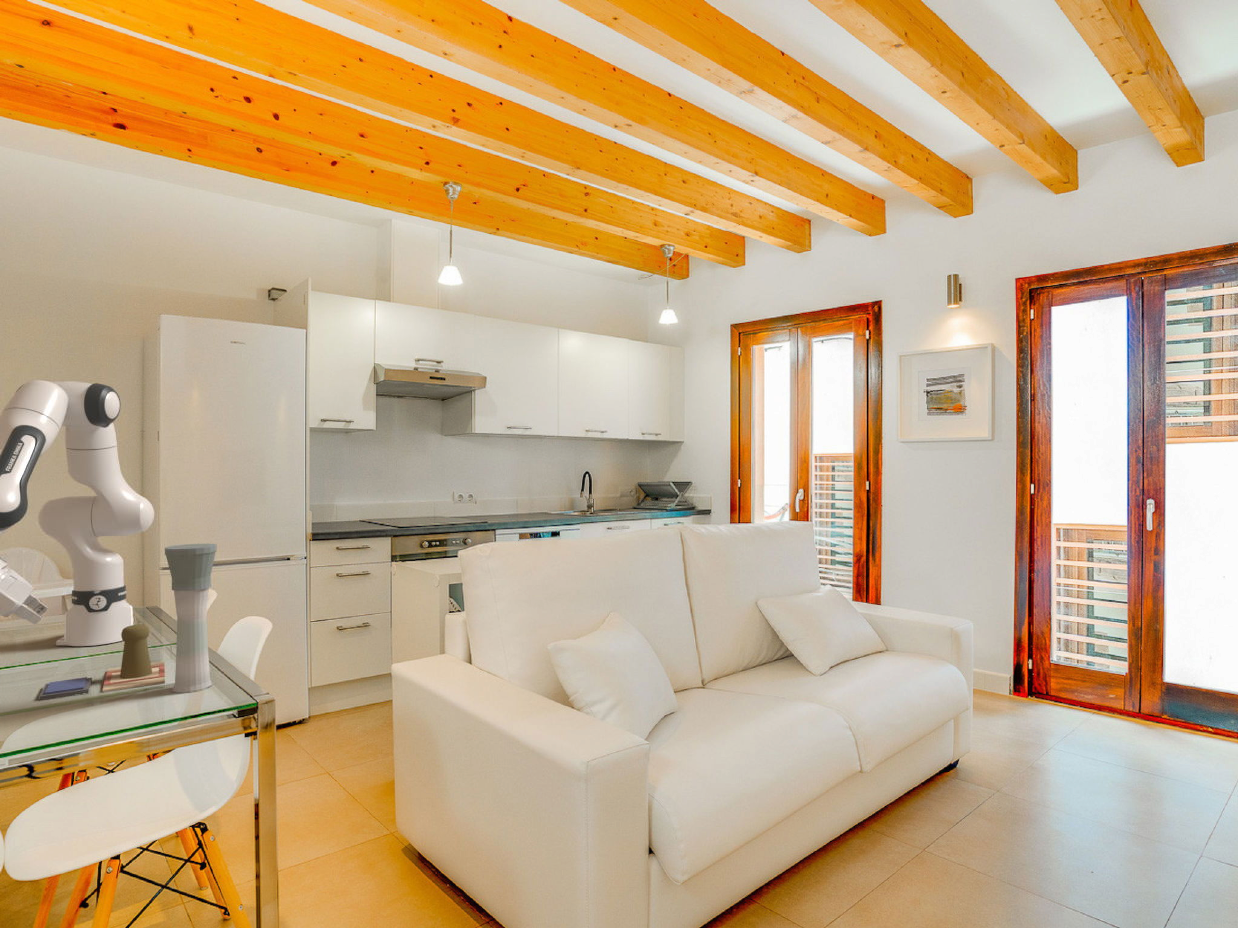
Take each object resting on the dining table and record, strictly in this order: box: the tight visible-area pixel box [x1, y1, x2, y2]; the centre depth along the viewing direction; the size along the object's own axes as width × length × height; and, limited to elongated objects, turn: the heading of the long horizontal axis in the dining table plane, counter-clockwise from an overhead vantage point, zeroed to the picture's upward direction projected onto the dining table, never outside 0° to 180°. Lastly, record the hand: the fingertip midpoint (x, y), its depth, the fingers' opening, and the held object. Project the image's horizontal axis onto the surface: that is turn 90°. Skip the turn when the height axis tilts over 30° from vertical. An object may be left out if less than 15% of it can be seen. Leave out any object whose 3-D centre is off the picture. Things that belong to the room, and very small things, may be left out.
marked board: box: [102, 661, 166, 693], centre depth 161 cm, size 18×11×1 cm, turn 32°
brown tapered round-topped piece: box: [120, 624, 152, 679], centre depth 162 cm, size 6×6×11 cm
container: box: [164, 543, 218, 694], centre depth 153 cm, size 10×10×30 cm
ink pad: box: [38, 676, 93, 701], centre depth 152 cm, size 10×8×1 cm
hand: (42, 616), depth 154 cm, fingers open, 8 cm apart
